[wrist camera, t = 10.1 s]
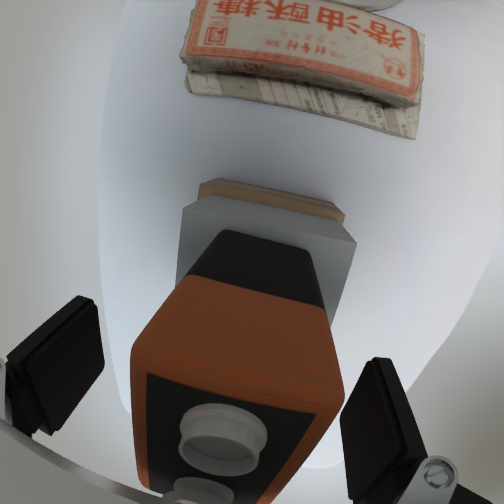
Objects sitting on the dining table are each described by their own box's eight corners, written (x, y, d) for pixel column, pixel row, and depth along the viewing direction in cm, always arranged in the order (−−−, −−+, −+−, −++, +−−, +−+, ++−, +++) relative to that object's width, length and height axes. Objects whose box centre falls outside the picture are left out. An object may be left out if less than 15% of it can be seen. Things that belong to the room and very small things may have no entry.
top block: (209, 194, 18) (183, 208, 13) (338, 220, 18) (356, 243, 13) (194, 308, 21) (171, 349, 16) (306, 331, 20) (311, 378, 16)
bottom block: (217, 178, 23) (200, 184, 18) (332, 202, 22) (345, 214, 18) (200, 283, 26) (183, 311, 21) (304, 306, 25) (307, 338, 21)
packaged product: (163, 83, 17) (196, -32, 13) (186, 96, 21) (211, -5, 18) (436, 140, 16) (444, 19, 13) (409, 142, 20) (420, 39, 17)
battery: (196, 345, 16) (127, 507, 6) (219, 224, 13) (98, 369, 4) (274, 364, 16) (260, 539, 6) (314, 248, 13) (367, 433, 4)
